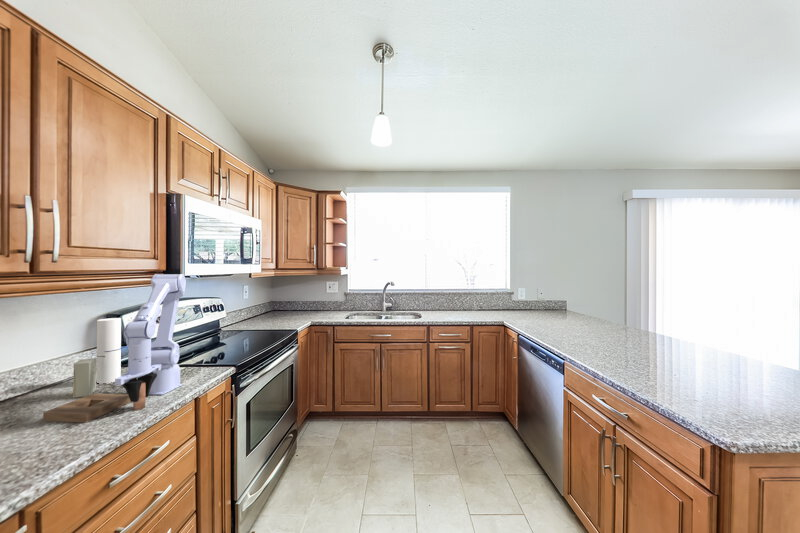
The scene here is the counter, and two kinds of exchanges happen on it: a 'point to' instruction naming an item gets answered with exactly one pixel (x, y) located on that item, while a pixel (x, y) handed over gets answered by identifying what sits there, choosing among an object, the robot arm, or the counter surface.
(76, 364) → the skincare box
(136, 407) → the terracotta peg
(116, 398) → the walnut socket plate
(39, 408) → the counter surface
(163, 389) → the robot arm
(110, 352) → the cylindrical container
